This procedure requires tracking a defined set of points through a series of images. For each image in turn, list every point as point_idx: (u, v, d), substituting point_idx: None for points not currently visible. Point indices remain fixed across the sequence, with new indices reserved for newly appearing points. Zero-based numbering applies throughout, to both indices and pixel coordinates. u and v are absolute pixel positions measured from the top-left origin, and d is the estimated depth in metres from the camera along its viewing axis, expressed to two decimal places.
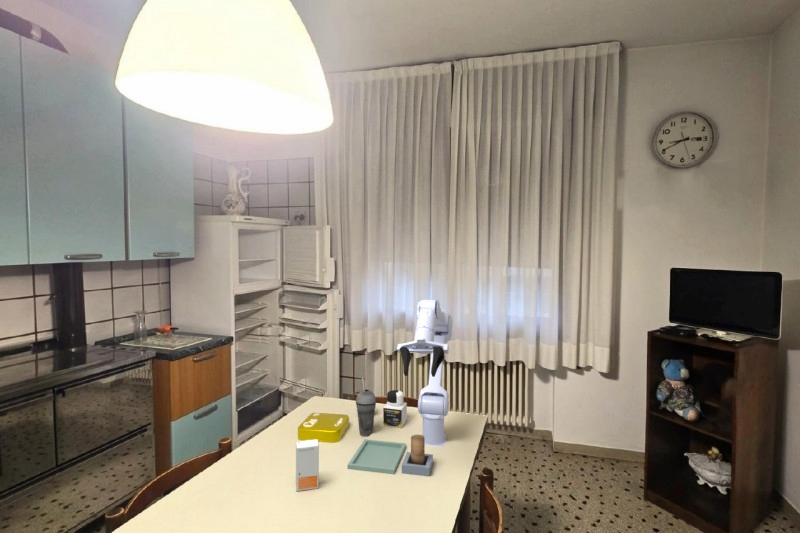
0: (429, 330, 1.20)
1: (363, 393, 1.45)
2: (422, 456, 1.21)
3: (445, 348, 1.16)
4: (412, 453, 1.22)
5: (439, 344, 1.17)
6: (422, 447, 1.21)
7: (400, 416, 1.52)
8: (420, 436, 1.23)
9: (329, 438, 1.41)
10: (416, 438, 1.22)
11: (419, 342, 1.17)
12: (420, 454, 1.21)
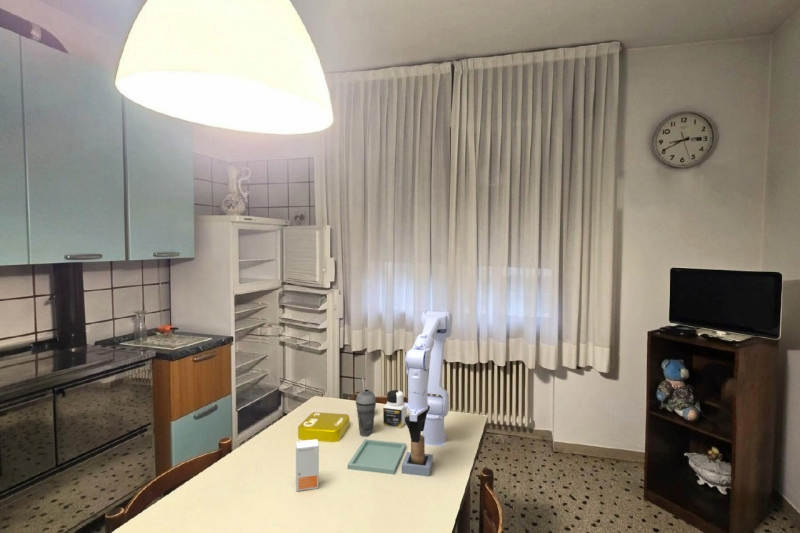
0: (409, 393, 1.21)
1: (363, 393, 1.45)
2: (422, 456, 1.21)
3: None
4: (412, 453, 1.22)
5: (409, 412, 1.18)
6: (422, 447, 1.21)
7: (400, 416, 1.52)
8: (420, 436, 1.23)
9: (329, 437, 1.41)
10: None
11: None
12: (420, 454, 1.21)
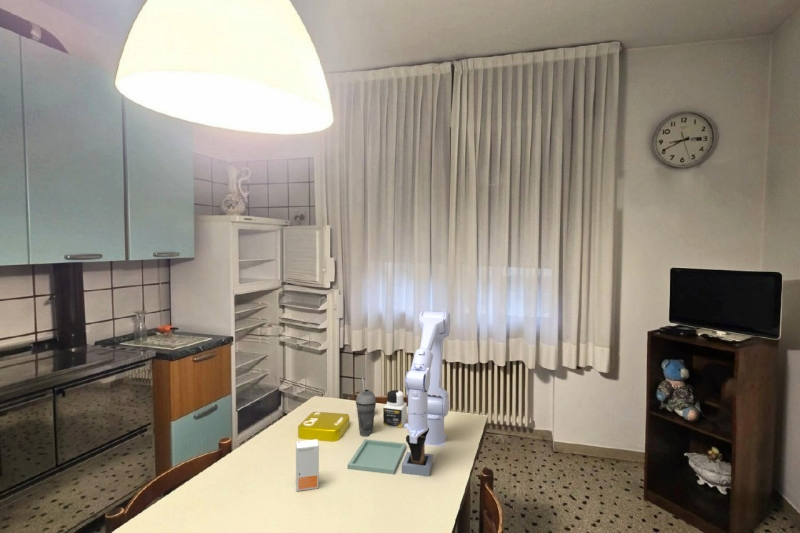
0: (409, 414, 1.21)
1: (363, 393, 1.45)
2: (422, 456, 1.21)
3: None
4: None
5: None
6: (422, 447, 1.21)
7: (400, 416, 1.52)
8: (420, 436, 1.23)
9: (328, 437, 1.41)
10: None
11: None
12: None
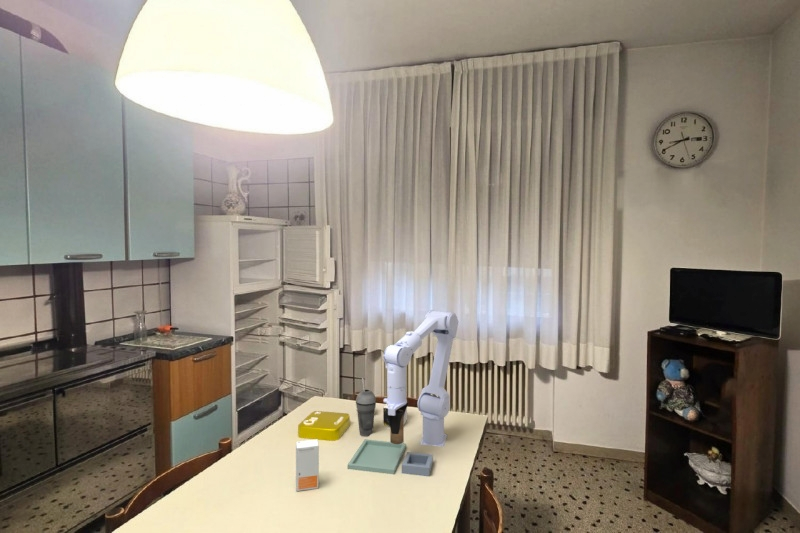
0: (388, 388, 1.24)
1: (363, 393, 1.45)
2: (401, 429, 1.24)
3: None
4: None
5: (388, 407, 1.21)
6: (401, 420, 1.24)
7: None
8: (399, 410, 1.26)
9: (328, 436, 1.42)
10: None
11: None
12: None
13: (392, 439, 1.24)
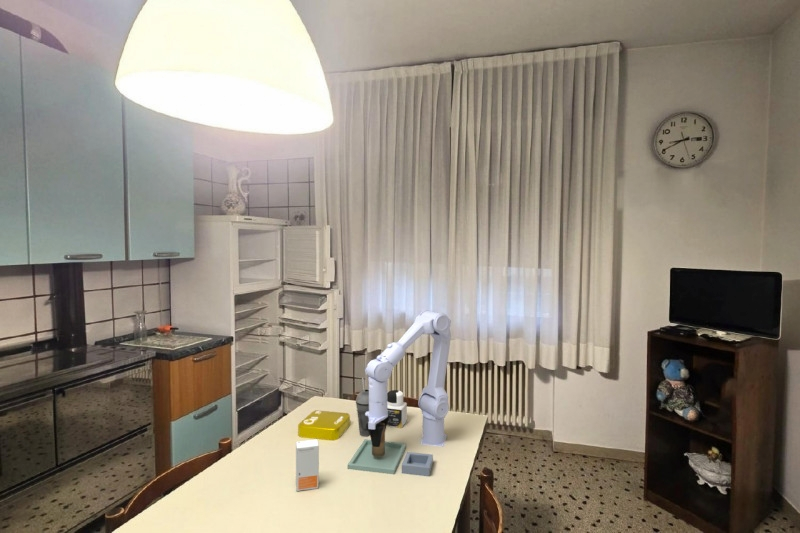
0: (369, 402, 1.27)
1: (363, 393, 1.45)
2: (382, 442, 1.27)
3: None
4: None
5: (369, 421, 1.24)
6: (382, 433, 1.27)
7: (400, 416, 1.52)
8: (381, 423, 1.29)
9: (328, 435, 1.42)
10: None
11: None
12: None
13: (373, 451, 1.28)
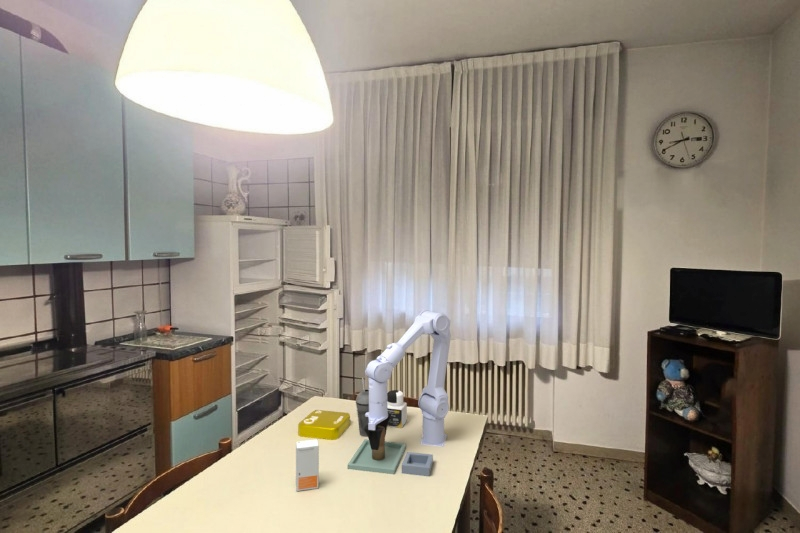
0: (369, 403, 1.27)
1: (363, 393, 1.45)
2: (382, 446, 1.28)
3: None
4: None
5: (369, 421, 1.24)
6: (382, 437, 1.27)
7: (400, 416, 1.52)
8: (381, 427, 1.30)
9: (327, 435, 1.43)
10: None
11: None
12: (380, 445, 1.27)
13: (373, 455, 1.28)
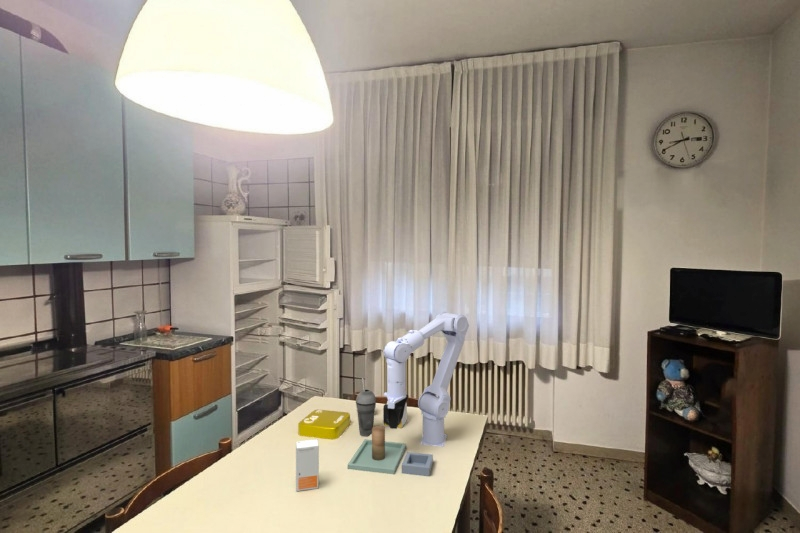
0: (388, 383, 1.29)
1: (363, 393, 1.45)
2: (382, 446, 1.27)
3: None
4: (373, 443, 1.28)
5: (388, 400, 1.26)
6: (382, 437, 1.27)
7: None
8: (381, 427, 1.30)
9: (327, 434, 1.43)
10: (376, 429, 1.29)
11: None
12: (380, 445, 1.27)
13: (373, 455, 1.28)
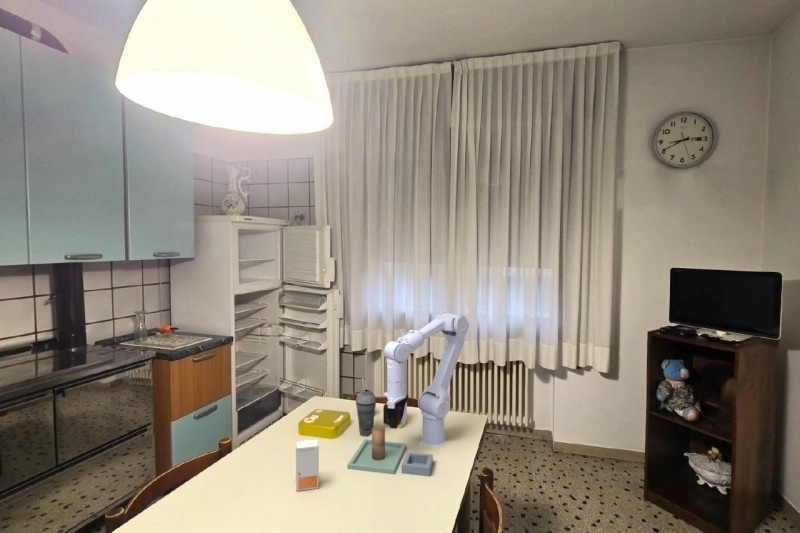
0: (388, 383, 1.29)
1: (363, 393, 1.45)
2: (382, 446, 1.28)
3: None
4: (373, 443, 1.28)
5: (388, 400, 1.26)
6: (382, 437, 1.27)
7: None
8: (381, 427, 1.30)
9: (327, 434, 1.44)
10: (376, 428, 1.29)
11: None
12: (380, 444, 1.27)
13: (373, 455, 1.28)
